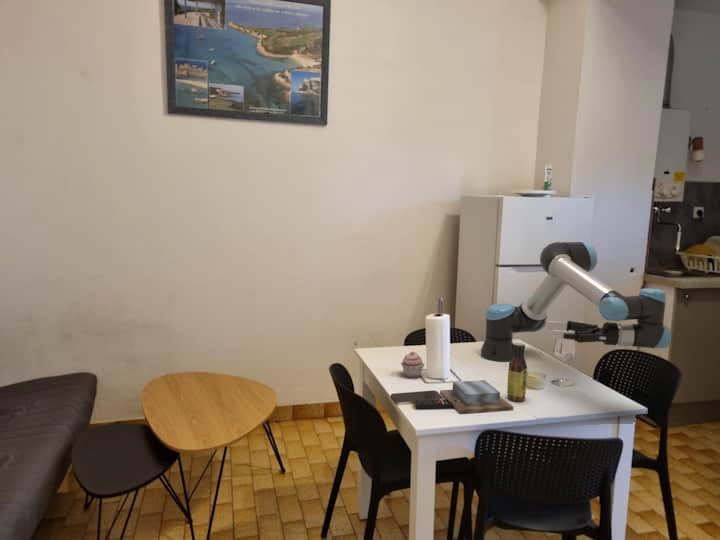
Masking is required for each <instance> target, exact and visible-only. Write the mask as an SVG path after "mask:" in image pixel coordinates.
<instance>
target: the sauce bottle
mask: <svg viewBox="0 0 720 540" xmlns="http://www.w3.org/2000/svg"><path fill="white" fill-rule="evenodd" d="M525 349H526V344H525V343H522V342H513V357H512V358H511V360H510V361H508V370H507V371H508V372H507V390H506V391H507V392H506V393H507V398H508V399H509V400H510V401H512V402H523V401H525V399H526V394H527V393H526V392H527V378H528V377H527V376H528V364H527V361H526V359H525Z"/></svg>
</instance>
